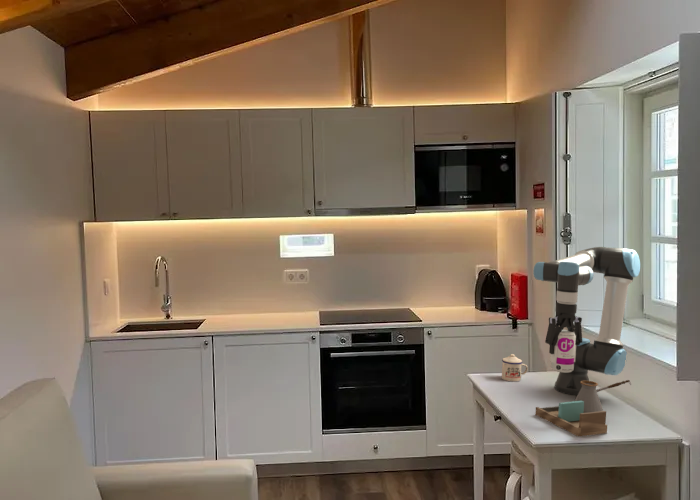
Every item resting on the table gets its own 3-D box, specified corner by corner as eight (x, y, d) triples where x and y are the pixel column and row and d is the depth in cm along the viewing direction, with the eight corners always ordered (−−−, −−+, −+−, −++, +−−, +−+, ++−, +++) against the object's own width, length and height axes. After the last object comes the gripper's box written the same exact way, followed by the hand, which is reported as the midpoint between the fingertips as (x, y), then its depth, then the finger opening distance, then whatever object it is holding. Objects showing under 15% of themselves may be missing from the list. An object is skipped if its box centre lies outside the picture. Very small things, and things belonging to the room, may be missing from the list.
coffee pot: (575, 418, 248) (577, 380, 247) (568, 409, 260) (571, 372, 258) (633, 422, 246) (636, 384, 245) (623, 413, 257) (626, 376, 256)
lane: (535, 414, 251) (536, 394, 250) (562, 411, 256) (563, 392, 255) (578, 436, 229) (579, 414, 228) (606, 433, 234) (608, 411, 233)
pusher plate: (557, 421, 241) (559, 402, 240) (580, 418, 245) (581, 400, 244) (560, 422, 239) (561, 404, 239) (582, 420, 243) (584, 401, 243)
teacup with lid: (503, 381, 296) (505, 356, 295) (498, 376, 305) (500, 351, 304) (529, 382, 297) (531, 357, 296) (524, 376, 306) (525, 352, 305)
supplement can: (574, 373, 241) (577, 334, 240) (551, 371, 243) (554, 332, 242) (572, 368, 249) (574, 330, 248) (549, 366, 251) (552, 328, 250)
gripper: (581, 300, 252) (577, 357, 253) (537, 301, 244) (533, 360, 246) (595, 303, 245) (591, 362, 246) (550, 304, 237) (546, 365, 239)
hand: (562, 361), depth 246 cm, fingers closed on supplement can, 8 cm apart
